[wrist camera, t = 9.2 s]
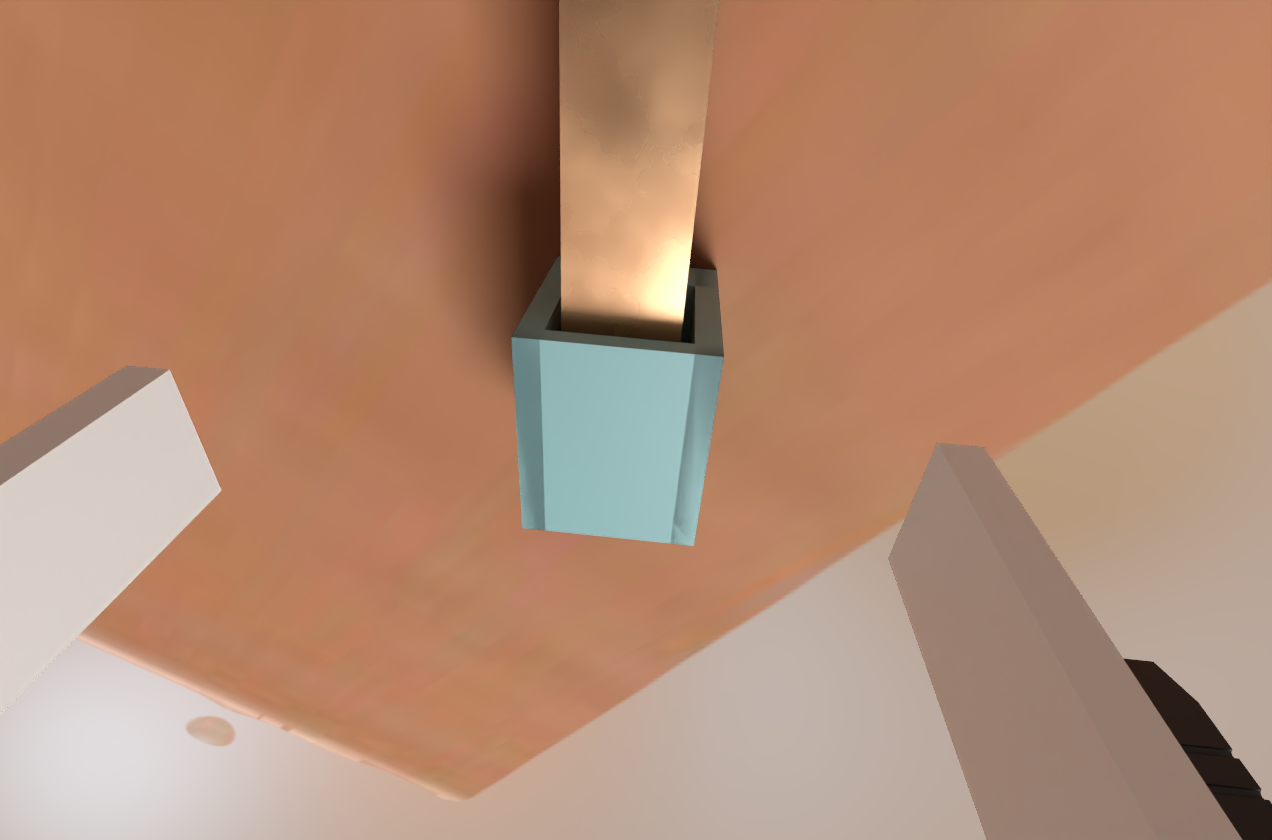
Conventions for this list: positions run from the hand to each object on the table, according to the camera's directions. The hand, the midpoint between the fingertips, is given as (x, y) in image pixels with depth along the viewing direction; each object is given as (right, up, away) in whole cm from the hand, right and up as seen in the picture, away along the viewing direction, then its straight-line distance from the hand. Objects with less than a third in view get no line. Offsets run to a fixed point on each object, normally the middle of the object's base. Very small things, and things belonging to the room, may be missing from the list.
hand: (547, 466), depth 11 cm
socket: (+1, +4, +20) cm, 20 cm away
